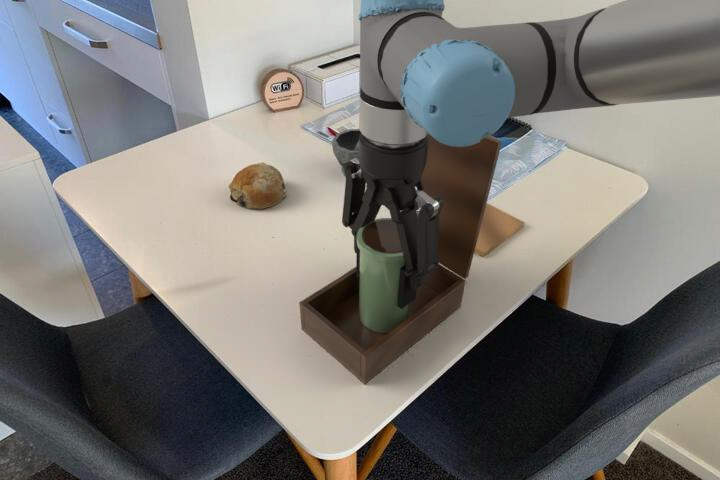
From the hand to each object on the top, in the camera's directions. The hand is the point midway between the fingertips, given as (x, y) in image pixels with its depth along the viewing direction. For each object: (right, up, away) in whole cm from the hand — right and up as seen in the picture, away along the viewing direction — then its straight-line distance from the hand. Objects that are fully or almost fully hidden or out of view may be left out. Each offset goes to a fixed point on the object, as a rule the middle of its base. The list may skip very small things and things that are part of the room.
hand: (385, 287), depth 70 cm
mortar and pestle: (-3, +20, +35) cm, 41 cm away
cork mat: (+17, +9, +21) cm, 28 cm away
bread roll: (-22, +14, +27) cm, 38 cm away
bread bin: (0, -5, +4) cm, 6 cm away
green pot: (0, -4, +3) cm, 5 cm away
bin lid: (+8, +12, -1) cm, 14 cm away
